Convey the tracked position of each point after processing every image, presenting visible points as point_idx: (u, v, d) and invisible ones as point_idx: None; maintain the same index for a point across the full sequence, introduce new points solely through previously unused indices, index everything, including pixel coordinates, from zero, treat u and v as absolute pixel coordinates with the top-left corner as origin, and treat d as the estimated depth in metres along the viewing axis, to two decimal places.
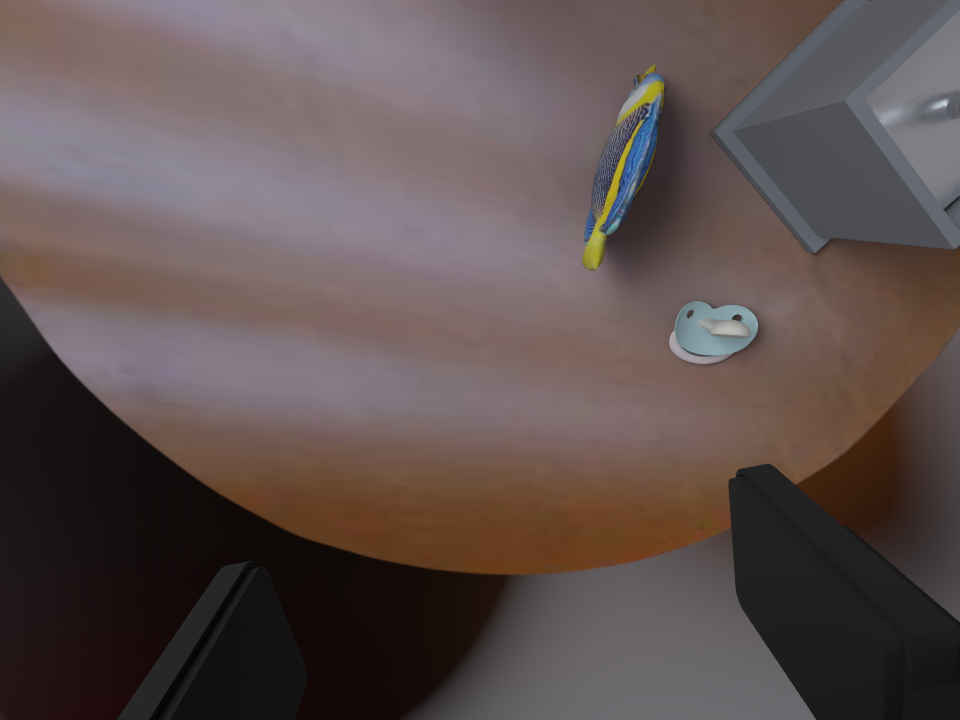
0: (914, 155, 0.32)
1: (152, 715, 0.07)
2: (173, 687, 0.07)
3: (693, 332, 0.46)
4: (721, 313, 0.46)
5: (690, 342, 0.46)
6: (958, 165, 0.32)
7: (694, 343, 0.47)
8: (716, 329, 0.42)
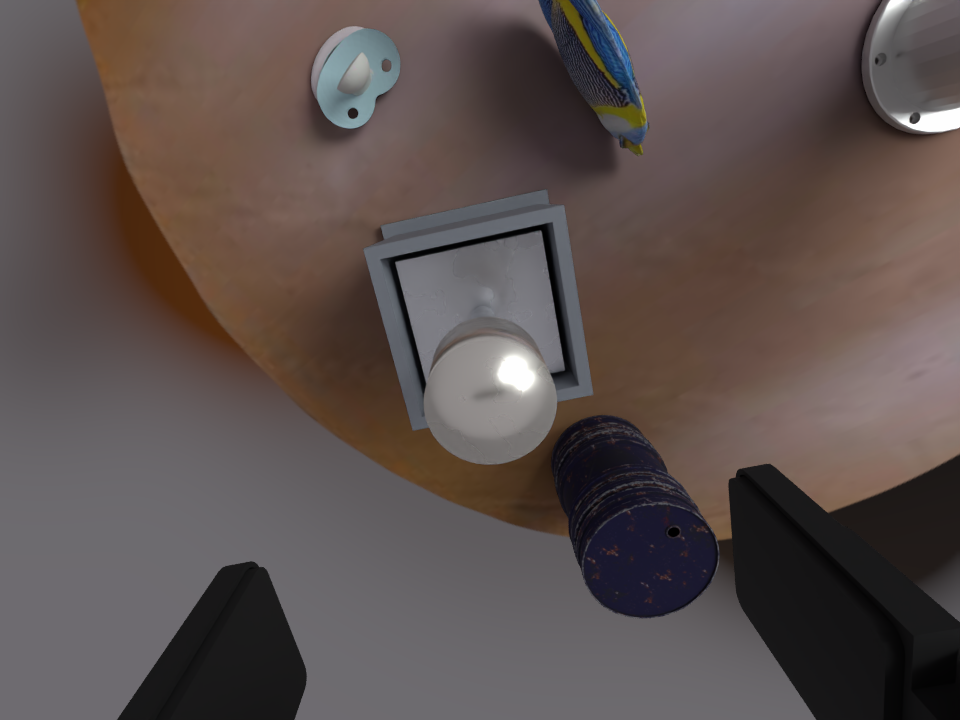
0: (463, 266, 0.32)
1: (152, 715, 0.07)
2: (173, 687, 0.07)
3: None
4: (366, 101, 0.40)
5: (354, 47, 0.38)
6: (430, 299, 0.33)
7: (350, 52, 0.38)
8: (365, 57, 0.35)
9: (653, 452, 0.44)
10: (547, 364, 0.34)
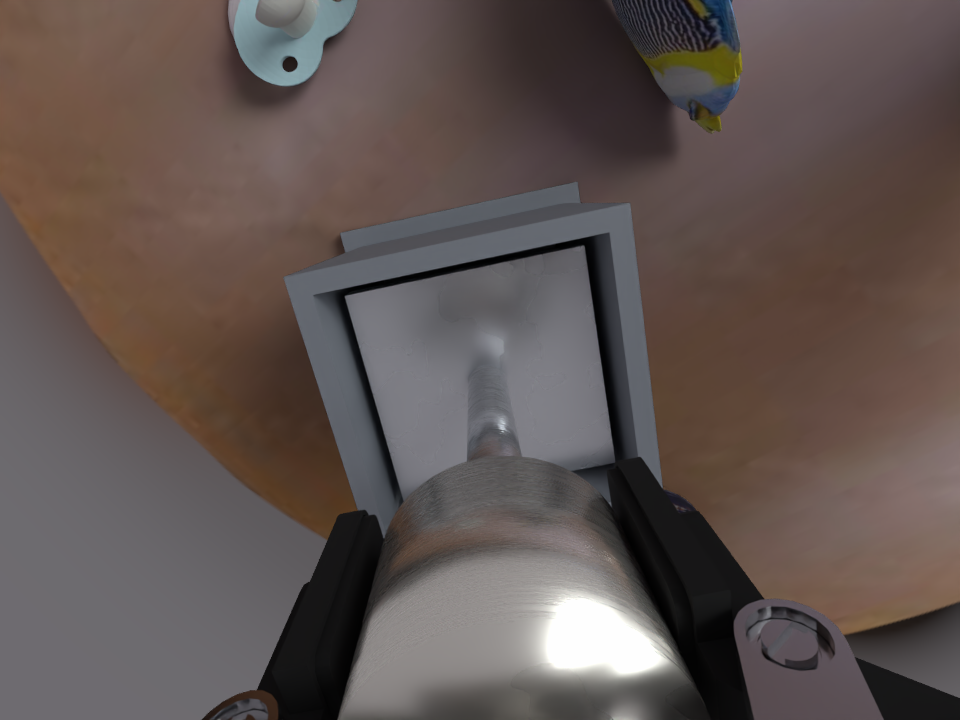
0: (456, 303, 0.20)
1: (321, 623, 0.08)
2: (330, 604, 0.08)
3: None
4: (310, 46, 0.27)
5: None
6: (403, 355, 0.20)
7: None
8: None
9: None
10: (588, 454, 0.22)
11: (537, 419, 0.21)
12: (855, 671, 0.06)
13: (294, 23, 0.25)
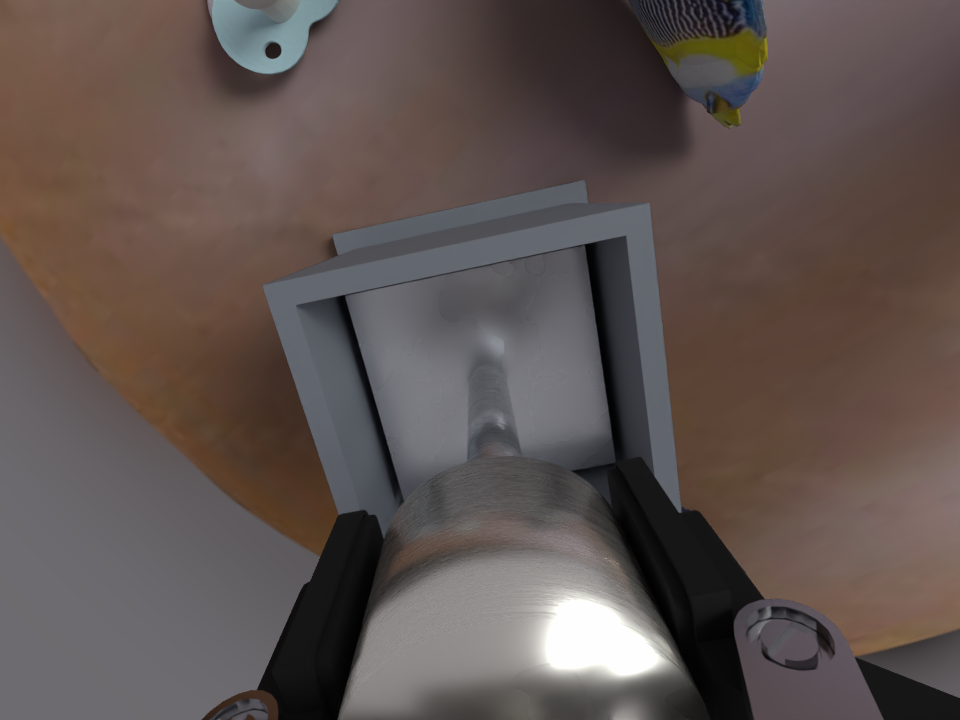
0: (456, 302, 0.20)
1: (321, 624, 0.08)
2: (330, 604, 0.08)
3: None
4: (295, 31, 0.25)
5: None
6: (404, 355, 0.20)
7: None
8: None
9: None
10: (588, 453, 0.22)
11: (537, 419, 0.21)
12: (855, 671, 0.06)
13: (276, 5, 0.23)
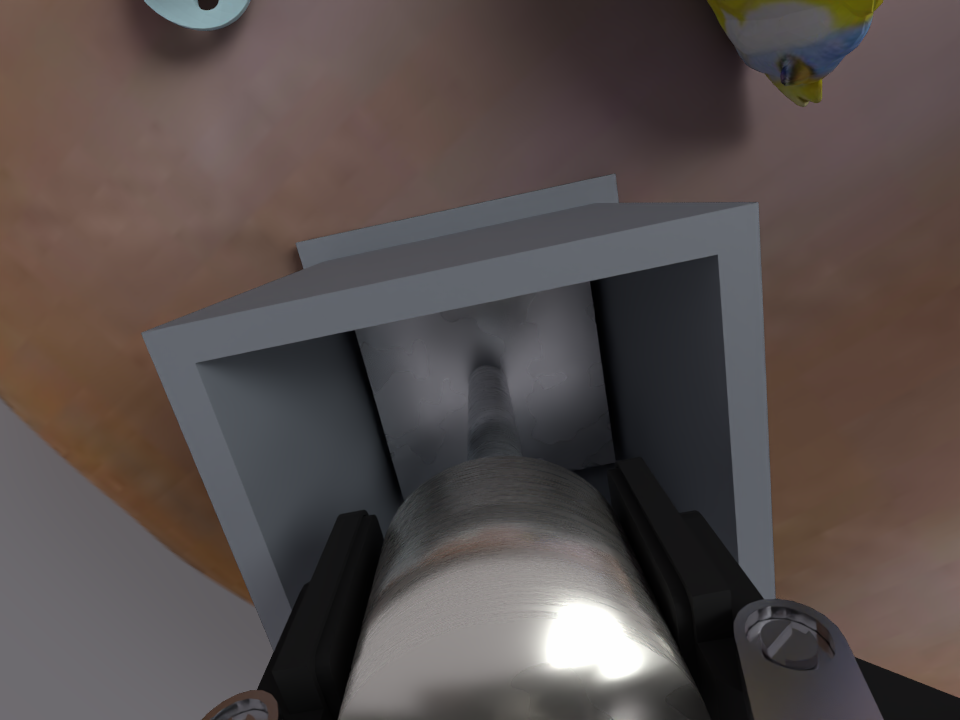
0: None
1: (322, 624, 0.08)
2: (331, 605, 0.08)
3: None
4: None
5: None
6: (404, 355, 0.20)
7: None
8: None
9: None
10: (588, 453, 0.22)
11: (537, 419, 0.21)
12: (855, 671, 0.06)
13: None
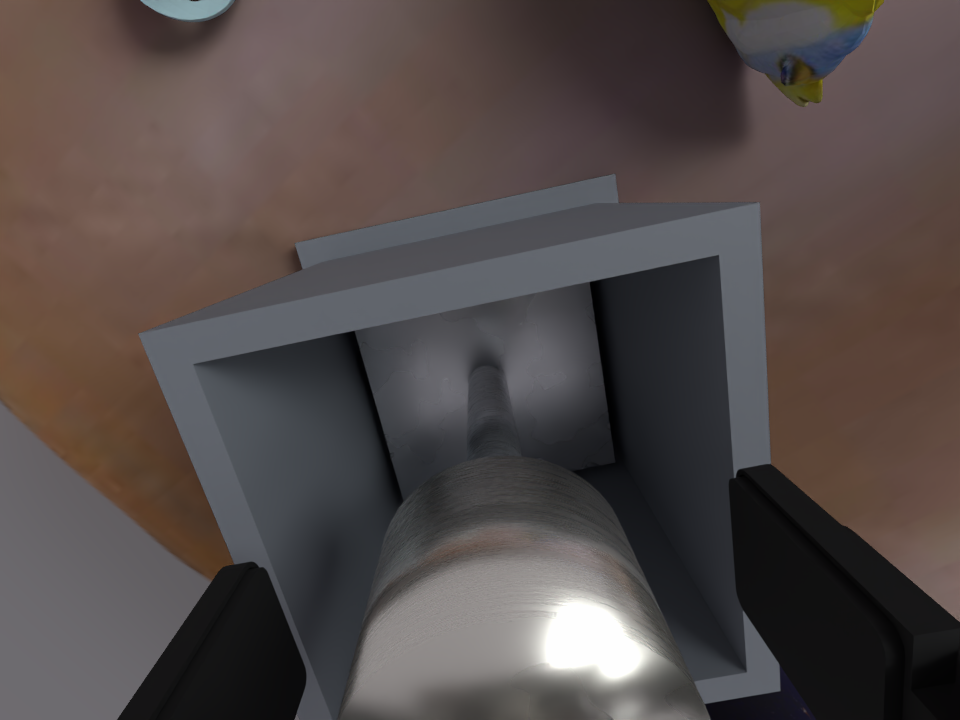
0: None
1: (152, 715, 0.07)
2: (173, 687, 0.07)
3: None
4: None
5: None
6: (403, 355, 0.20)
7: None
8: None
9: None
10: (588, 454, 0.22)
11: (537, 419, 0.21)
12: None
13: None
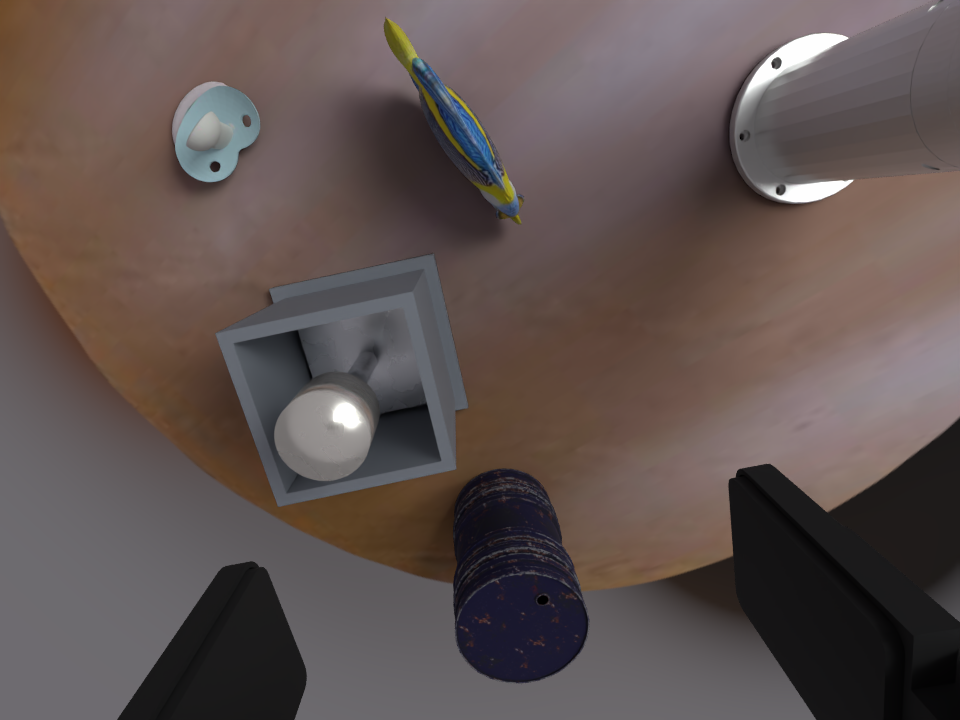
0: (349, 320, 0.41)
1: (151, 715, 0.07)
2: (173, 687, 0.07)
3: (222, 113, 0.39)
4: (229, 154, 0.40)
5: (212, 103, 0.38)
6: (324, 346, 0.41)
7: (209, 107, 0.38)
8: (214, 116, 0.35)
9: (544, 509, 0.45)
10: (422, 397, 0.43)
11: (394, 378, 0.42)
12: None
13: (215, 144, 0.38)
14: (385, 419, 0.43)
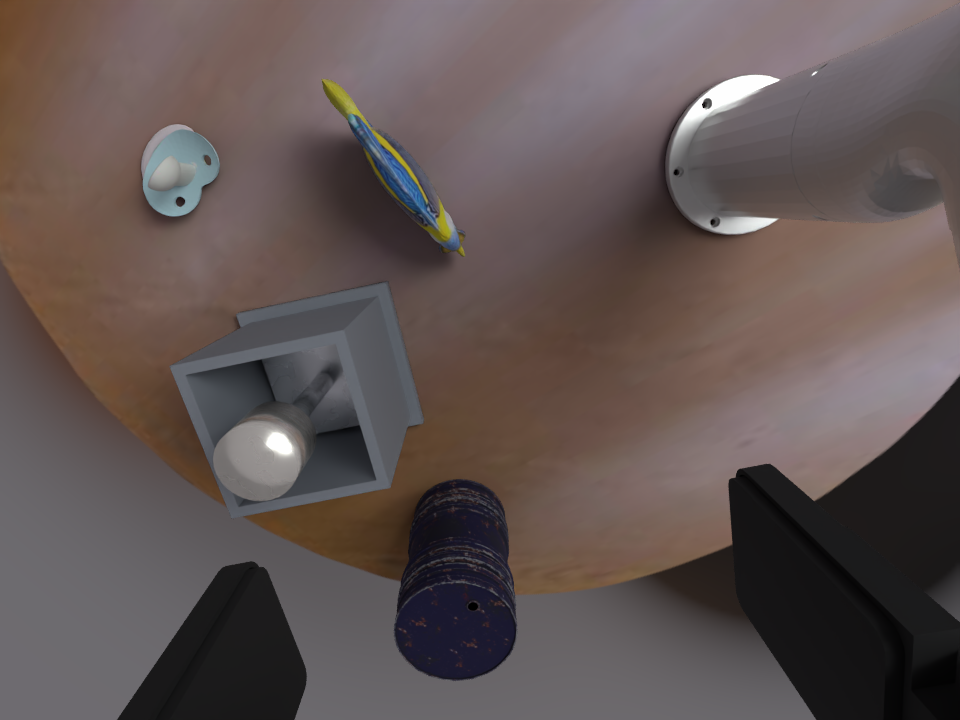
0: None
1: (152, 715, 0.07)
2: (173, 687, 0.07)
3: (186, 153, 0.42)
4: (193, 190, 0.43)
5: (176, 144, 0.42)
6: (284, 368, 0.45)
7: (173, 148, 0.42)
8: (172, 160, 0.39)
9: (490, 519, 0.48)
10: None
11: (349, 398, 0.46)
12: None
13: (178, 182, 0.41)
14: (341, 435, 0.46)
